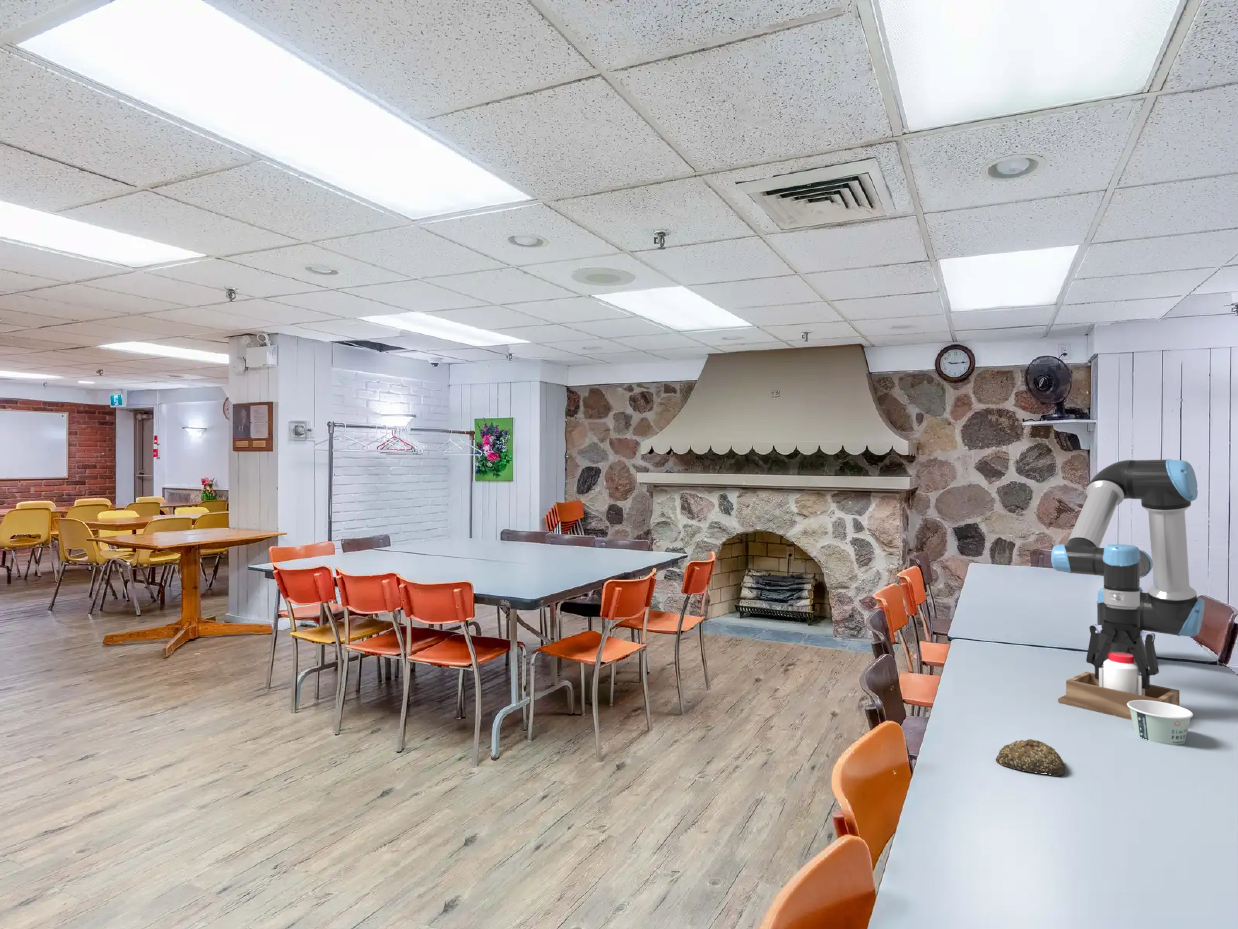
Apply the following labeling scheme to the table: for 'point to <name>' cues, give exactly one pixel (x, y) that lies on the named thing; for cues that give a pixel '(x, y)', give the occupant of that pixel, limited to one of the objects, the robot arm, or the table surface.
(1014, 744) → the bread roll
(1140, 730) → the food container
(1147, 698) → the tray
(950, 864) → the table surface
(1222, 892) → the table surface
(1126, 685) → the pill bottle
